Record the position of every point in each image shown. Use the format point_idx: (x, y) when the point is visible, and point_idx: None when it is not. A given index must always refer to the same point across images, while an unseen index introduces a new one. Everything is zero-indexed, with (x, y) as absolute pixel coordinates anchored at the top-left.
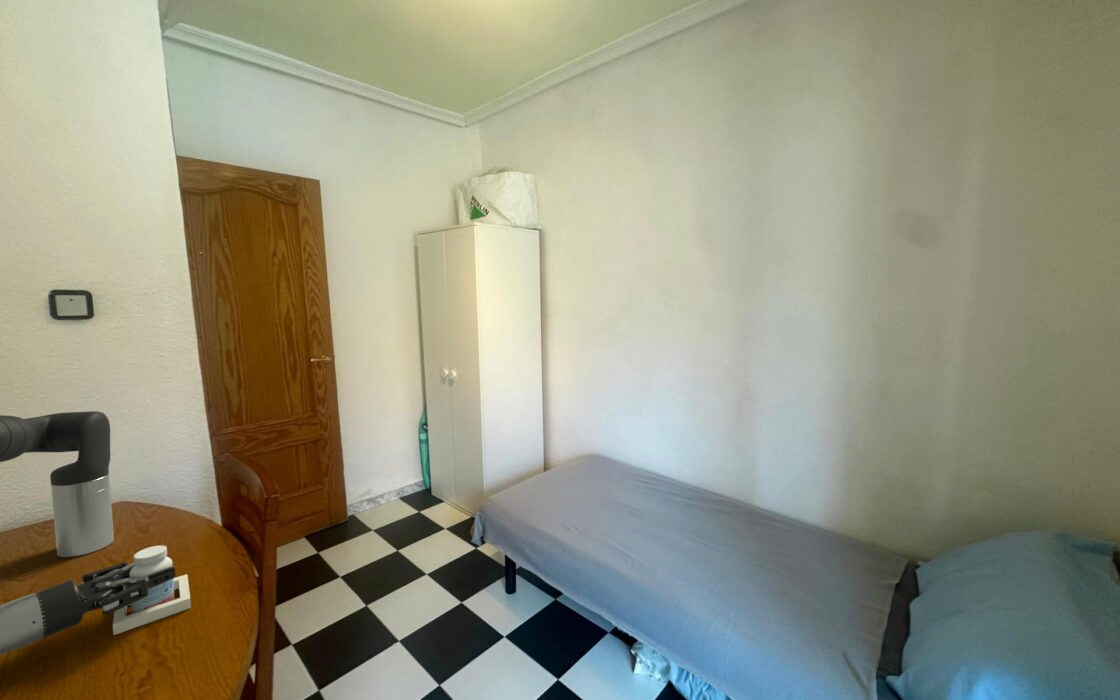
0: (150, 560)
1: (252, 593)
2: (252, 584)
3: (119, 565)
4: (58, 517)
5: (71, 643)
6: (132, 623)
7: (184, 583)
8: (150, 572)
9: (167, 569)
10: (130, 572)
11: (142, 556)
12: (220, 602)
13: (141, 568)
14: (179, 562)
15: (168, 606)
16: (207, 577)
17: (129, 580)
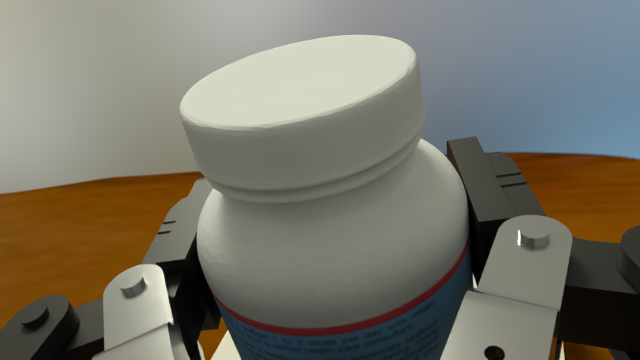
0: (419, 102)
1: (598, 164)
2: (520, 160)
3: (25, 339)
4: None
5: None
6: None
7: None
8: (457, 199)
9: (480, 150)
10: (303, 287)
11: (339, 93)
12: (591, 230)
13: (379, 204)
14: (80, 279)
15: (562, 342)
16: None
17: (523, 303)
